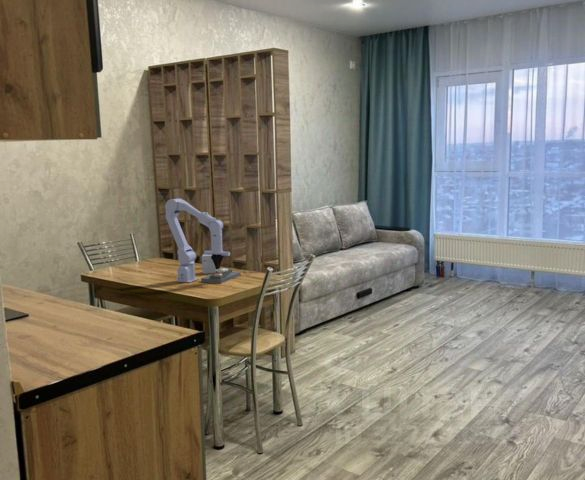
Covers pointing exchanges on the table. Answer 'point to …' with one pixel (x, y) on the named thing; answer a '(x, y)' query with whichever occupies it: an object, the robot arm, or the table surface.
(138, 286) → the table surface
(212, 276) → the button panel
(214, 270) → the small box
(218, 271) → the cream button
